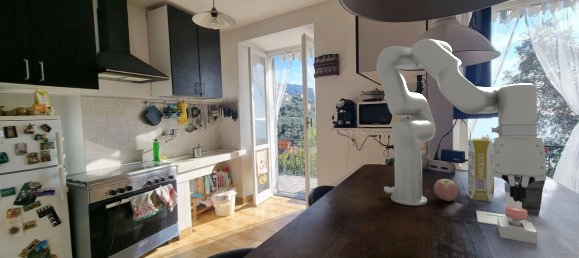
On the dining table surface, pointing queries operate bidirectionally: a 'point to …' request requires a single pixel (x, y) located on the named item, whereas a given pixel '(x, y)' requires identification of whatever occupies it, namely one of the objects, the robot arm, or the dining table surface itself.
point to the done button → (516, 214)
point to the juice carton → (480, 169)
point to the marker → (511, 199)
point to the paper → (489, 217)
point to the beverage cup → (532, 197)
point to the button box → (517, 230)
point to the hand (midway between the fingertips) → (517, 200)
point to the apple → (446, 189)
